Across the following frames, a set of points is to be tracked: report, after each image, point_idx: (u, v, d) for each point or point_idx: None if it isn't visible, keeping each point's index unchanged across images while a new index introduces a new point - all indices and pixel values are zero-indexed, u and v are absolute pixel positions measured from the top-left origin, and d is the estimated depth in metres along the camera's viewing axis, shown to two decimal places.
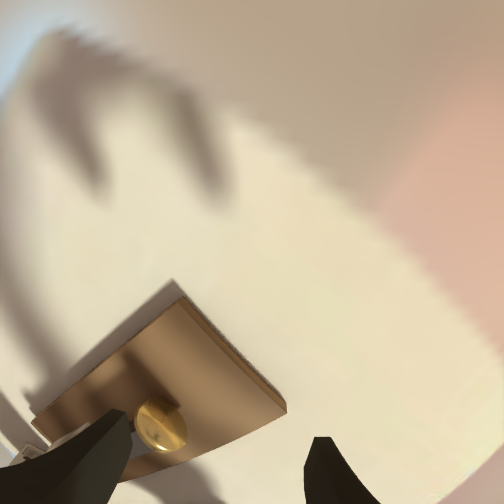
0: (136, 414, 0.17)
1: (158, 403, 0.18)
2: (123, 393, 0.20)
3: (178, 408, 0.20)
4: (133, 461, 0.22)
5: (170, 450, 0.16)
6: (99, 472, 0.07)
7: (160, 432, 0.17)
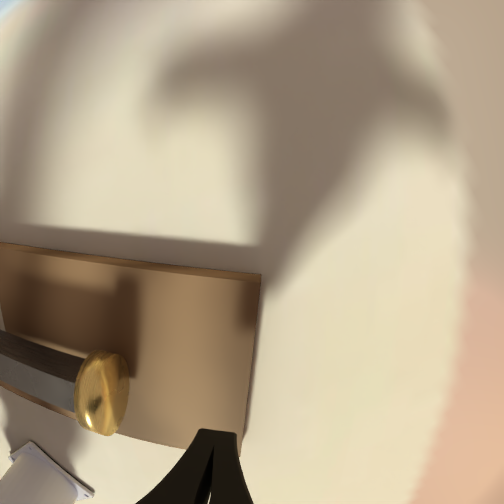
0: (88, 366, 0.11)
1: (119, 363, 0.13)
2: (75, 312, 0.13)
3: (129, 378, 0.14)
4: None
5: (99, 433, 0.10)
6: (202, 498, 0.07)
7: (104, 408, 0.11)
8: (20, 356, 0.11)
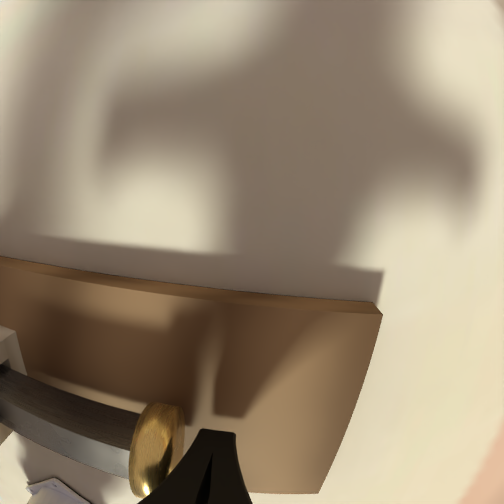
0: (144, 430, 0.08)
1: (178, 417, 0.10)
2: (129, 355, 0.11)
3: None
4: None
5: None
6: (203, 498, 0.07)
7: (166, 476, 0.08)
8: (42, 410, 0.08)
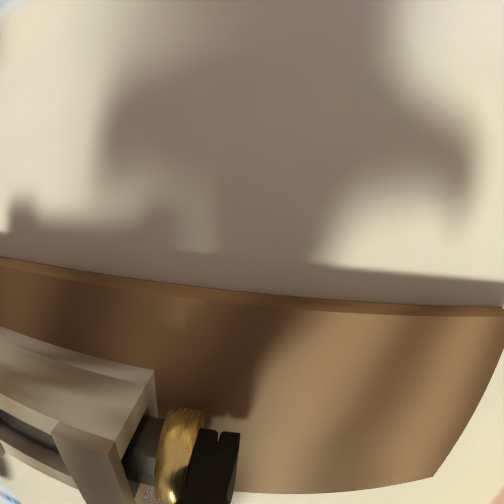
0: (170, 436, 0.08)
1: (200, 421, 0.10)
2: (326, 379, 0.11)
3: (371, 435, 0.11)
4: None
5: None
6: (228, 502, 0.07)
7: None
8: None
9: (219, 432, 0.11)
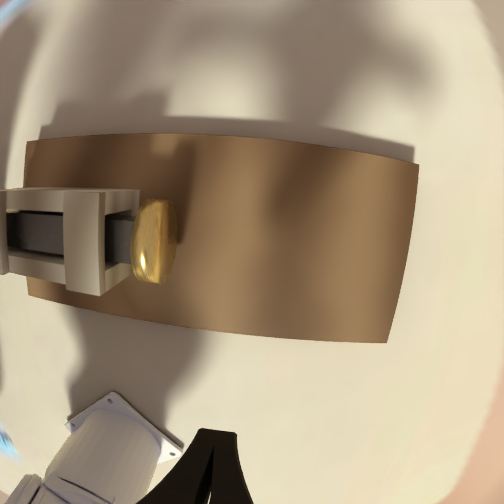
0: (150, 202, 0.13)
1: (173, 215, 0.15)
2: (257, 190, 0.16)
3: (304, 257, 0.17)
4: (132, 287, 0.17)
5: (148, 274, 0.13)
6: (202, 498, 0.07)
7: (159, 243, 0.13)
8: None
9: (181, 245, 0.17)
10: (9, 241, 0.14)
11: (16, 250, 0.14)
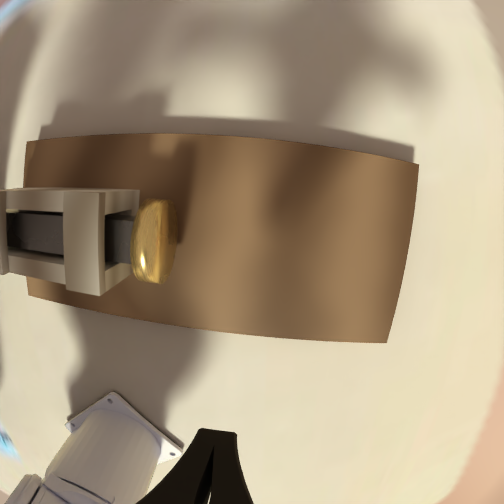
0: (149, 202, 0.13)
1: (173, 215, 0.15)
2: (257, 190, 0.16)
3: (304, 257, 0.17)
4: (132, 287, 0.17)
5: (148, 274, 0.13)
6: (202, 498, 0.07)
7: (158, 243, 0.13)
8: None
9: (181, 245, 0.17)
10: (9, 241, 0.14)
11: (16, 250, 0.14)
